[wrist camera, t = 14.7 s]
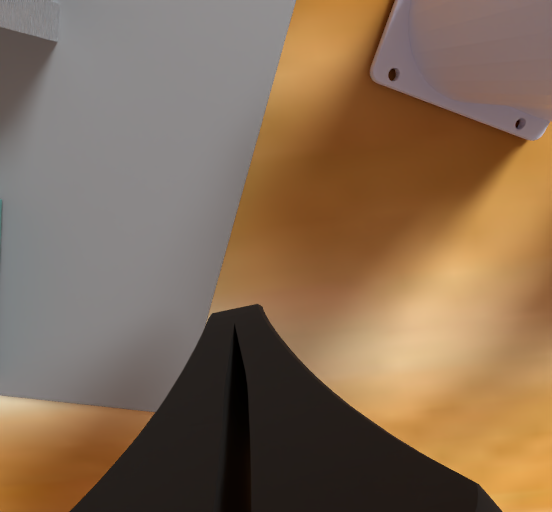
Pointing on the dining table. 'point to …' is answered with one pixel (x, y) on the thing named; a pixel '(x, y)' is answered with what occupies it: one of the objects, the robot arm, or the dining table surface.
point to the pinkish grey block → (31, 17)
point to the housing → (0, 216)
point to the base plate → (123, 188)
